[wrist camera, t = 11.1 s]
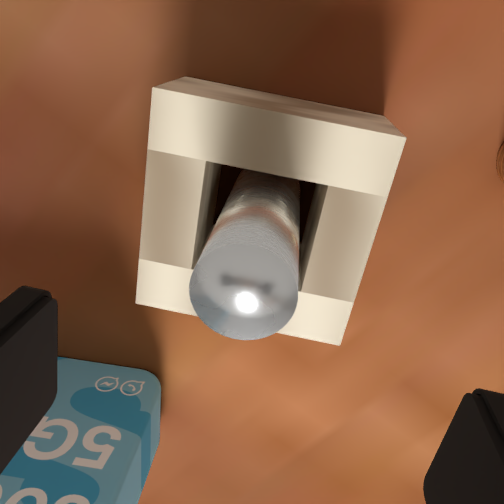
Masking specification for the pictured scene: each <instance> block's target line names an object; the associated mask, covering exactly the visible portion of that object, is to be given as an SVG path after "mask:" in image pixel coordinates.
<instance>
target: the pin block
mask: <svg viewBox="0 0 504 504" xmlns="http://www.w3.org/2000/svg"><path fill="white" fill-rule="evenodd" d="M405 141H406V137H405V136H404V135H403V134H402V133H401V132H400V131H399V130H398V129H397V128H396V127H395V126H394V125H393V124H392V123H391V122H390V121H389V120H388V119H387V118H385V117H384V116H382V115H377V114H372V113H367V112H362V111H357V110H352V109H347V108H342V107H337V106H332V105H327V104H322V103H317V102H312V101H307V100H302V99H297V98H292V97H287V96H281V95H276V94H271V93H266V92H261V91H256V90H251V89H246V88H241V87H236V86H231V85H226V84H221V83H216V82H211V81H206V80H201V79H196V78H191V77H186V76H185V77H182V78H179V79H176V80H173V81H170V82H167V83H164V84H160V85H157V86H154V87H152V99H151V112H150V124H149V137H148V150H147V163H146V176H145V188H144V201H143V214H142V227H141V239H140V252H139V265H138V278H137V291H136V304H141V305H146V306H151V307H155V308H160V309H165V310H170V311H175V312H180V313H184V314H189V315H194V316H198V315H197V314H196V312H195V310H194V308H193V306H192V303H191V300H190V295H189V283H190V278H191V275H192V273H193V270H194V268H195V266H196V264H197V262H198V260H199V258H200V256H201V253H202V251H203V249H204V247H205V245H206V243H207V241H208V239H209V237H210V234H211V232H212V230H213V228H214V226H215V225H213V219H214V213H215V206H216V199H217V193H218V186H219V180H220V173H221V166H222V164H224V165H229V166H234V167H239V168H244V169H249V170H254V171H259V172H264V173H269V174H274V175H279V176H284V177H289V178H294V179H299V180H304V181H309V182H314V183H316V185H315V189H314V193H313V197H312V202H311V206H310V210H309V214H308V218H307V222H306V226H305V230H304V234H303V238H302V242H301V243H299V272H298V302H297V307H296V309H295V312H294V314H293V316H292V318H291V319H290V320H289V322H288V323H287V324H286V325H285V326H284V327H283V328H282V329H280V330H279V331H277V332H276V333H281V334H286V335H291V336H296V337H301V338H305V339H310V340H315V341H320V342H325V343H330V344H334V345H339V346H340V344H341V341H342V338H343V334H344V331H345V328H346V325H347V322H348V319H349V316H350V313H351V309H352V306H353V303H354V300H355V297H356V294H357V291H358V288H359V285H360V281H361V278H362V275H363V272H364V269H365V266H366V263H367V260H368V256H369V253H370V250H371V247H372V244H373V241H374V238H375V235H376V231H377V228H378V225H379V222H380V219H381V216H382V213H383V210H384V207H385V203H386V200H387V197H388V194H389V191H390V188H391V185H392V182H393V178H394V175H395V172H396V169H397V166H398V163H399V160H400V157H401V153H402V150H403V147H404V144H405Z"/></svg>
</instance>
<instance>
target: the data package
mask: <svg viewBox="0 0 504 504" xmlns="http://www.w3.org/2000/svg"><path fill="white" fill-rule="evenodd" d="M160 408H161V385H160V382H159V380H158V379H157V377H156V376H155V375H154V374H152V373H150V372H148V371H146V370H142V369H137V368H130V367H123V366H117V365H110V364H104V363H97V362H90V361H84V360H77V359H71V358H64V357H58V362H57V395H56V398H55V400H54V403H53V404H52V406H51V407H50V409H49V410H48V411H47V413H46V414H45V415H44V417H43V418H42V419H41V421H40V422H39V424H38V425H37V426H36V428H35V429H34V430H33V432H32V433H31V434H30V436H29V437H28V438H27V440H26V441H25V442H24V444H23V445H22V446H21V448H20V449H19V450H18V452H17V453H16V454H15V456H14V457H13V458H12V460H11V461H10V462H9V464H8V465H7V466H6V468H5V469H4V470H3V472H2V473H1V475H0V504H138V501H139V498H140V495H141V492H142V490H143V487H144V484H145V481H146V478H147V475H148V473H149V470H150V467H151V464H152V461H153V459H154V456H155V453H156V450H157V447H158V445H159V440H160Z"/></svg>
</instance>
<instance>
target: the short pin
mask: <svg viewBox="0 0 504 504" xmlns="http://www.w3.org/2000/svg"><path fill="white" fill-rule="evenodd" d="M496 169H497V173H498V175H499V177H500V179H501V181H502V182H503V183H504V142H503V144H502V145H501V147H500V149H499V152H498V155H497V160H496Z"/></svg>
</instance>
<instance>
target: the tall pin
mask: <svg viewBox="0 0 504 504" xmlns="http://www.w3.org/2000/svg"><path fill="white" fill-rule="evenodd" d="M299 226H300V185H299V181H298V179H294V178H289V177H284V176H279V175H274V174H269V173H264V172H259V171H254V170H249V169H243V170H242V171H241V173H240V174H239V176H238V178H237V180H236V182H235V184H234V186H233V188H232V190H231V192H230V195H229V197H228V199H227V201H226V203H225V205H224V207H223V209H222V211H221V213H220V216H219V218H218V220H217V222H216V224H215V226H214V228H213V230H212V232H211V234H210V237H209V239H208V241H207V243H206V245H205V247H204V249H203V251H202V253H201V256H200V258H199V260H198V262H197V264H196V266H195V268H194V270H193V273H192V275H191V278H190V283H189V295H190V300H191V303H192V306H193V308H194V310H195V312H196V314H197V315H198V316H199V318H200V319H201V320H202V321H203V322H204V323H205V324H206V325H207V326H208V327H209V328H211V329H212V330H214V331H215V332H217V333H219V334H221V335H224V336H226V337H230V338H233V339H239V340H255V339H261V338H264V337H268V336H270V335H272V334H274V333H276V332H277V331H279V330H280V329H282V328H283V327H284V326H285V325H286V324H287V323H288V322H289V320H290V319H291V318H292V316H293V314H294V312H295V309H296V307H297V302H298V272H299Z"/></svg>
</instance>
